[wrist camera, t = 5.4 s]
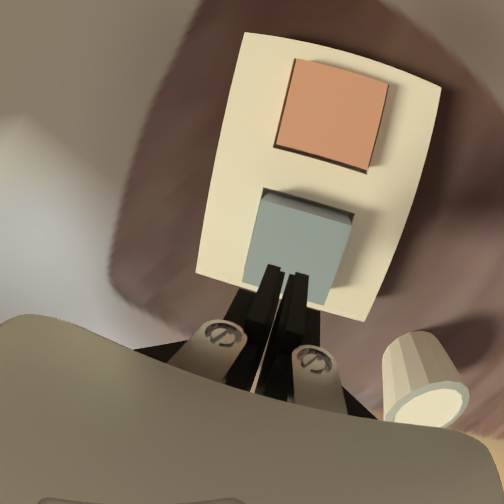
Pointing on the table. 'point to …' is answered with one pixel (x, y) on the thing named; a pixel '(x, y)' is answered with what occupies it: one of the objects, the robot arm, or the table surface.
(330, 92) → the key terracotta
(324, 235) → the key slate
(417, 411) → the shot glass
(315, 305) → the board
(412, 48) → the table surface
